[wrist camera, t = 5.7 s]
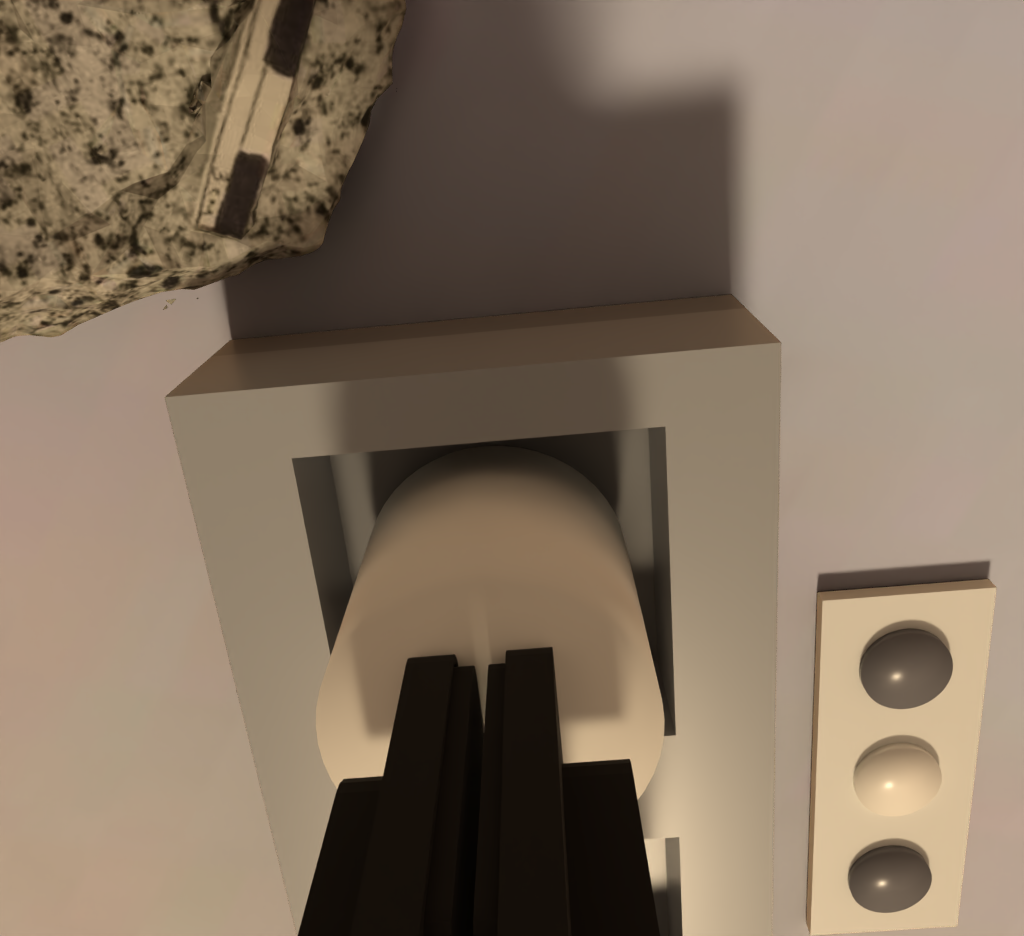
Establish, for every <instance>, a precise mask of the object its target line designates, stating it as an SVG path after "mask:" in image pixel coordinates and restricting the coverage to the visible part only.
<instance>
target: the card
mask: <svg viewBox="0 0 1024 936" xmlns="http://www.w3.org/2000/svg"><path fill="white" fill-rule="evenodd" d="M996 588H997V587H996V586H995V585H994V584H993V583H992V582H991V581H990V580H989V579H983V580H970V581H957V582H944V583H931V584H918V585H905V586H892V587H880V588H867V589H854V590H841V591H828V592H818V594H817V623H816V653H815V682H814V711H813V741H812V770H811V800H810V829H809V859H808V888H807V918H806V924H807V927H808V930H809V933H810V935H825V934H841V933H857V932H873V931H889V930H905V929H921V928H937V927H954V926H957V923H958V914H959V906H960V897H961V889H962V880H963V871H964V863H965V854H966V846H967V837H968V829H969V820H970V811H971V803H972V794H973V786H974V777H975V768H976V760H977V751H978V743H979V734H980V725H981V717H982V708H983V700H984V691H985V683H986V674H987V665H988V657H989V648H990V640H991V631H992V622H993V614H994V605H995V597H996Z"/></svg>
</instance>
